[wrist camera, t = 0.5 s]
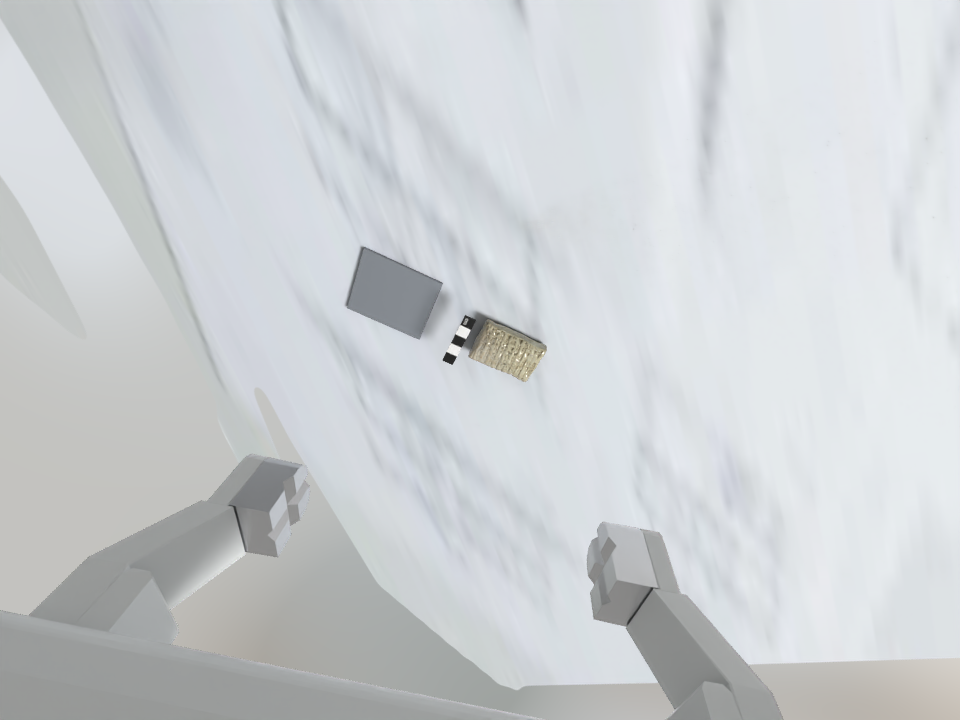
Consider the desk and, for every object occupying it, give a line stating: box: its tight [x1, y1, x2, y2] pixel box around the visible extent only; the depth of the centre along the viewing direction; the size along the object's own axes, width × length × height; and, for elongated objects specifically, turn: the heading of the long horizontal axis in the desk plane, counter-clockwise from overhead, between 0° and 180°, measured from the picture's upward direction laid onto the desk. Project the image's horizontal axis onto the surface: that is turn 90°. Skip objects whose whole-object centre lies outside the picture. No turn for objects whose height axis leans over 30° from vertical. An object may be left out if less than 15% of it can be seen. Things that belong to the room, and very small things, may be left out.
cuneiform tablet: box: [443, 315, 547, 382], centre depth 53 cm, size 7×4×12 cm
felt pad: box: [347, 248, 443, 339], centre depth 52 cm, size 9×10×1 cm
